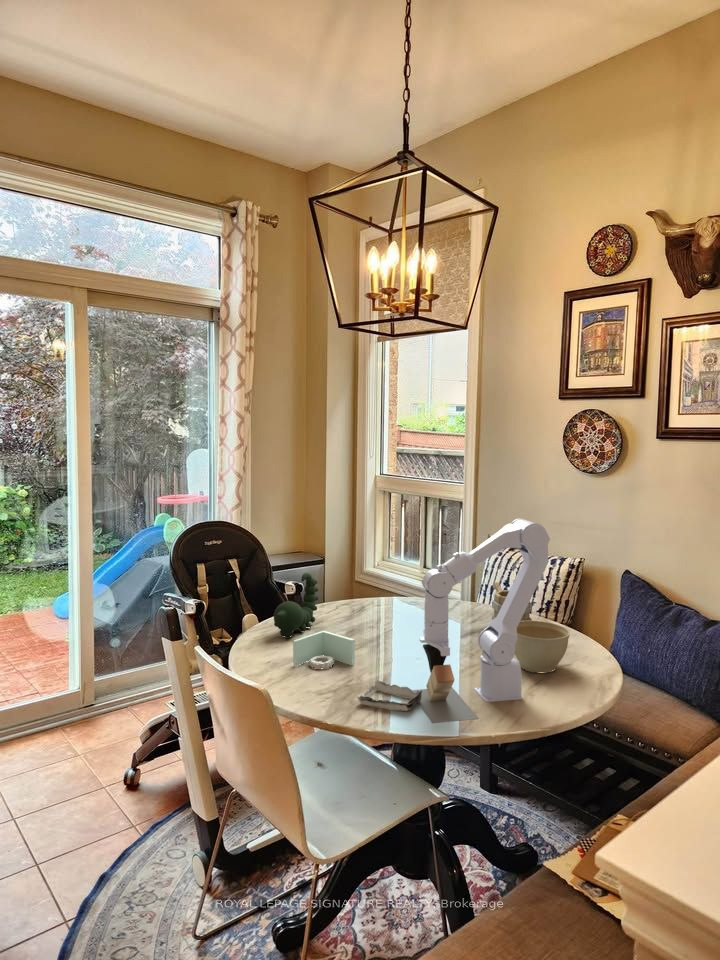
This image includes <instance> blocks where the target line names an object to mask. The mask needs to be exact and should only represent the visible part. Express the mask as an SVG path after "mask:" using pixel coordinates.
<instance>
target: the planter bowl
mask: <svg viewBox="0 0 720 960" xmlns="http://www.w3.org/2000/svg"><path fill="white" fill-rule="evenodd" d="M570 635H571V634H570V631H569V630H568V629H567V628H566V627H565V626H562V625H560V624H557V623H553V622H548V621H542V620H532V621H520V622H519V624H518V626H517V642H516V644H515V654H514V657H515V659H517V660H518V662H519V664H520V667H521V669H522V670H524V669H525V671H527V670H528V671H527V672H530V671H532V672H531V673H534V672H550V671H552V670H554V669H555V670H556V667H557V665H558V664H560V662H561V661H562V660H563V658H564V656H565V654H566V651H567V649H568V644H569V639H570ZM555 670H554V671H555ZM550 673H551V672H550Z"/></svg>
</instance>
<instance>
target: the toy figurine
mask: <svg viewBox="0 0 720 960" xmlns="http://www.w3.org/2000/svg"><path fill="white" fill-rule="evenodd" d="M304 581H305V587H304V595H303V597H302V598H303V599H302V600H303V601H302V603H301V606H300V604H298V603H297V602H295V601H291V600H288V601H283V602H281V603H280V604H279V605H278V606H277V607H276V608H275V611H274V612H273V621H274V627H277V628H278V629H279V635H280V636H281V637H282V636H285V637H290V636H292V637H293V635H294V631H297V630H299V631H300V632H301V631H304V632H305V631H306V630H307V629H306V627H311V628H312V624H311V623H315V622H316V618H315V616H314V611H317V610H318V606H317V605H316V603H315V602H316V601H318V600H319V597H318V596H317V595H316V592H318V591H319V588H318V587H316V585H317V584H318V580H316V579H315V578H314V577H312V574H311V573H309V572H303V574H302V576H301V581H300V582H304ZM285 637H284V638H285ZM290 638H291V637H290Z"/></svg>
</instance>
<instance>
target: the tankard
mask: <svg viewBox="0 0 720 960" xmlns="http://www.w3.org/2000/svg"><path fill="white" fill-rule="evenodd" d="M492 589H493V590H495V591H496V592H495V593H494V595H493V597H494V598H493V599H492V601H491V608H492V609H493V614H492V616H491V621H492V620H493V619H495V618H496V617H497V615H498V613H499V611H500V609H501V607H502V605H503V603H504V601H505V599H506V597H507V595H508V592H509V590H510V589H509V590H507V589H504V590H503V588H502V587H501V586H500V583H499V582H497V581H495V582H494V583H493V584H492ZM531 611H533V603H532V602H531V601H530V602H529V604H528V606H527V608H526V610H525V612H524V614H523V616H522V618H521V620H520V621H533V620H532V619H533V618H531V617H530V614H531V613H530V612H531Z"/></svg>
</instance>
